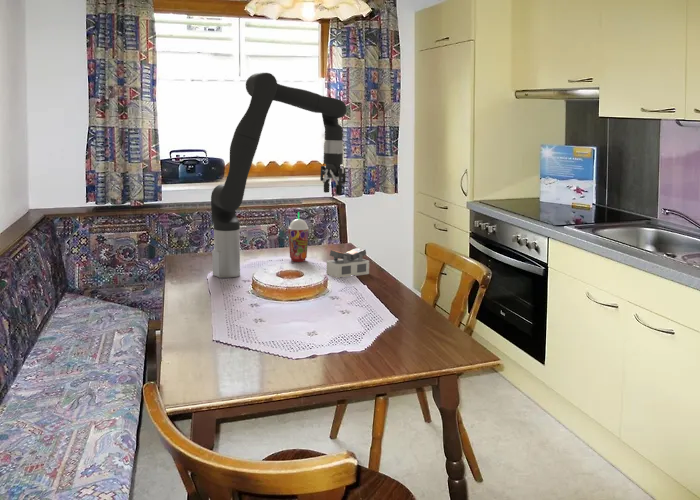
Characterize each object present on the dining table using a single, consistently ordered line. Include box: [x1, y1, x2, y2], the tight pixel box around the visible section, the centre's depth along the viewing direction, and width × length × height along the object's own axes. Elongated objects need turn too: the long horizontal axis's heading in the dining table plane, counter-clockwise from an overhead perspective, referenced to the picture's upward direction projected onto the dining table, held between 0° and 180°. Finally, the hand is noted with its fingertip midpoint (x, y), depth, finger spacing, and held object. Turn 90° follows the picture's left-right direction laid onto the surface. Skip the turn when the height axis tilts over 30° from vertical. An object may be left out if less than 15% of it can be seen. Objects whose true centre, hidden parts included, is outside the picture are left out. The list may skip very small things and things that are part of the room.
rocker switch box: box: [325, 254, 370, 279], centre depth 257 cm, size 14×8×8 cm, turn 125°
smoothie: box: [287, 211, 310, 263], centre depth 278 cm, size 8×8×20 cm
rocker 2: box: [345, 246, 367, 260], centre depth 258 cm, size 6×5×2 cm
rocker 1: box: [329, 249, 351, 260], centre depth 254 cm, size 6×5×2 cm
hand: (332, 193), depth 269 cm, fingers open, 8 cm apart
